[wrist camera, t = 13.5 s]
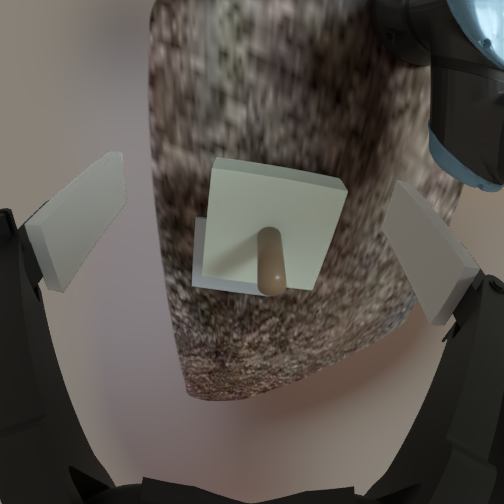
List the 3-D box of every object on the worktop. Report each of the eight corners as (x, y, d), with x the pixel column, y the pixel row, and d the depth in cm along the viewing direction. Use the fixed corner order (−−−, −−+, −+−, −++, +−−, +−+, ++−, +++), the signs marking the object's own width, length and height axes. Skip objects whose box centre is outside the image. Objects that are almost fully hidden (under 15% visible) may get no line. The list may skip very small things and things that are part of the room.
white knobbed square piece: (340, 178, 37) (371, 232, 27) (308, 272, 47) (321, 339, 36) (216, 156, 36) (198, 204, 25) (205, 258, 45) (191, 325, 35)
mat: (287, 229, 56) (287, 231, 56) (269, 294, 66) (269, 296, 66) (196, 216, 55) (195, 217, 54) (192, 284, 65) (191, 286, 64)
